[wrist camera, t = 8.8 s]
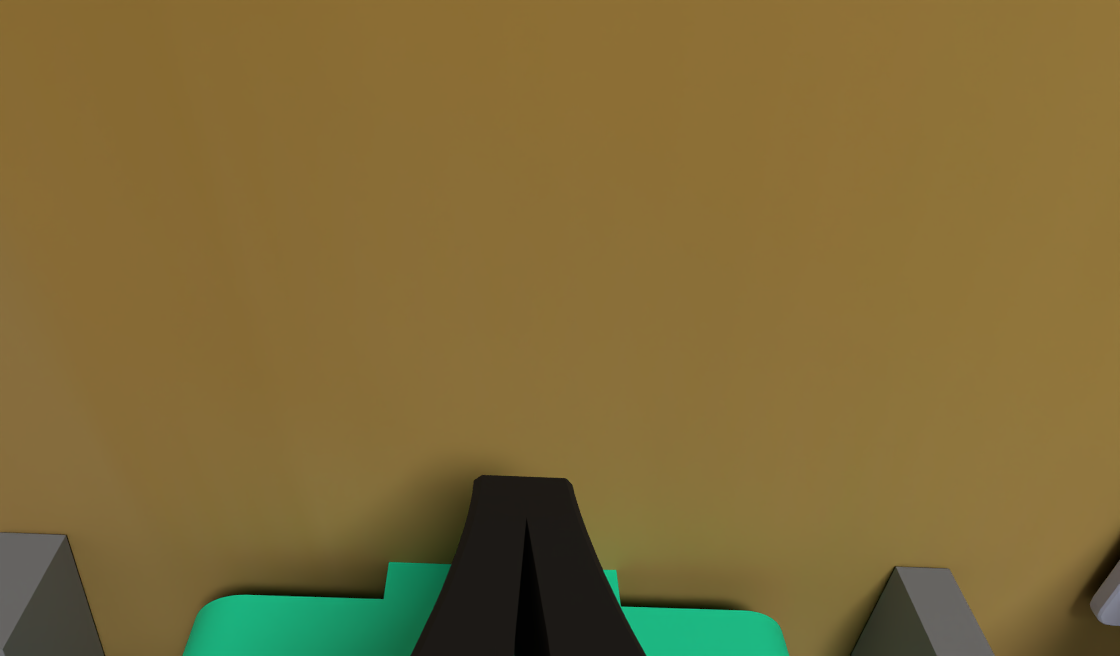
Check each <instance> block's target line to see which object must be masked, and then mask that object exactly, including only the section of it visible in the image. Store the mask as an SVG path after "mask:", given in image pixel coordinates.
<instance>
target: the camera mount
mask: <svg viewBox="0 0 1120 656" xmlns="http://www.w3.org/2000/svg"><path fill="white" fill-rule="evenodd" d="M450 566H451V564H429V563H402V562H389V565H388V572H387V579H386V586H385V593H384V599H363V598H331V597H299V596H267V595H233V596H227V597H223V598H219V599H217V600H214V601H212V602H210V603H208V604H207V605H205V606H204V607H203V608H202V609H201V610H200V611H199V613H198V614H197V616H196V619H195V622H194V625H193V627H192V630H191V633H190V636H189V639H188V641H187V644H186V647H185V650H184V653H183V655H182V656H410V655H411V653H412V651H413V649H414V647H415V645H416V643H417V641H418V639H419V637H420V635H421V633H422V631H423V628H424V626H425V624H426V622H427V620H428V618H429V616H430V614H431V612H432V610H433V607H434V605H435V603H436V601H437V599H438V596H439V594H440V592H441V589H442V587H443V584H444V582H445V579H446V577H447V574H448V572H449V569H450ZM603 571H604V573H605V575H606V577H607V580H608V582H609V584H610V586H611V588H612V590H613V592H614V594H615V596H616V599H617V601H618V603H619V605H620V607H621V604H620V596H619V588H618V580H617V572H616V570H603ZM621 609H622V611H623V613H624V615H625V617H626V619H627V621H628V623H629V625H630V626H631V628H632V630H633V632H634V634H635V636H636V638H637V639H638V641H639V643H640V645H641V647H642V648H643V650H644V652H645V654H646V656H789V653H788V650H787V647H786V643H785V640H784V637H783V633H782V630H781V628H780V626H779V625H778V623H777V622H776V621H774V620H773V619H772V618H770V617H768V616H766V615H764V614H761V613H758V612H753V611H743V610H712V609H680V608H648V607H621Z"/></svg>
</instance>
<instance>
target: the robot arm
mask: <svg viewBox="0 0 1120 656" xmlns="http://www.w3.org/2000/svg"><path fill="white" fill-rule="evenodd" d="M1090 607H1091V610H1092V611H1093V613H1094V614H1095V616H1096V617H1097V619H1098V620H1099V621H1100V622H1101V623H1103V624H1107V625H1112V626H1120V560H1119V562H1118V563H1117V564H1116V566H1115V567H1114V569H1113V570H1112V571H1111V573H1110V574H1109V575H1108V577H1107V578H1106V580H1105V581H1104V582H1103V584H1102V585H1101V586H1100V588H1099V589H1098V591H1097V592H1096V593H1095V595H1094V596H1093V598H1092V600H1091V602H1090ZM410 656H646V654H645V652H644V650H643V648H642V647H641V645H640V643H639V641H638V639H637V638H636V636H635V634H634V632H633V630H632V628H631V626H630V625H629V623H628V621H627V619H626V617H625V615H624V613H623V611H622V609H621V607H620V605H619V603H618V601H617V599H616V596H615V594H614V592H613V590H612V588H611V586H610V584H609V582H608V580H607V577H606V575H605V573H604V571H603V569H602V567H601V564H600V562H599V560H598V557H597V555H596V553H595V550H594V548H593V545H592V543H591V540H590V538H589V535H588V533H587V530H586V527H585V525H584V522H583V519H582V516H581V513H580V510H579V507H578V504H577V501H576V497H575V494H574V490H573V486H572V484H571V483H570V482H569V481H568V480H567V479H566V478H544V477H519V476H493V475H482V476H480V477H478V478H477V479H475V480H474V484H473V493H472V499H471V503H470V508H469V512H468V516H467V520H466V523H465V527H464V530H463V533H462V536H461V539H460V542H459V545H458V548H457V551H456V554H455V556H454V559H453V561H452V564H451V566H450V569H449V572H448V574H447V577H446V579H445V582H444V584H443V587H442V589H441V592H440V594H439V596H438V599H437V601H436V603H435V605H434V607H433V610H432V612H431V614H430V616H429V618H428V620H427V622H426V624H425V626H424V628H423V631H422V633H421V635H420V637H419V639H418V641H417V643H416V645H415V647H414V649H413V651H412V653H411V655H410Z"/></svg>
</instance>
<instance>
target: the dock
mask: <svg viewBox="0 0 1120 656" xmlns="http://www.w3.org/2000/svg"><path fill="white" fill-rule="evenodd" d="M0 656H104V653H103V650H102V647H101V644H100V641H99V638H98V634H97V631H96V628H95V625H94V622H93V619H92V616H91V612H90V609H89V606H88V603H87V600H86V597H85V594H84V590H83V587H82V584H81V581H80V578H79V575H78V572H77V568H76V565H75V562H74V559H73V556H72V553H71V550H70V546H69V543H68V540H67V537H66V535H51V534H25V533H0ZM851 656H995V655H994V653H993V651H992V650H991V648H990V646H989V644H988V642H987V640H986V638H985V636H984V634H983V632H982V630H981V629H980V627H979V625H978V623H977V621H976V619H975V617H974V615H973V613H972V611H971V609H970V608H969V606H968V604H967V602H966V600H965V598H964V596H963V594H962V592H961V590H960V588H959V587H958V585H957V583H956V581H955V579H954V577H953V575H952V573H951V571H950V569H941V568H915V567H896V568H895V570H894V572H893V573H892V575H891V577H890V579H889V581H888V583H887V585H886V587H885V589H884V591H883V593H882V595H881V597H880V599H879V601H878V603H877V605H876V607H875V609H874V611H873V613H872V615H871V617H870V619H869V621H868V623H867V625H866V627H865V629H864V631H863V632H862V634H861V636H860V638H859V640H858V642H857V644H856V646H855V648H854V650H853V652H852V654H851Z"/></svg>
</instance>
